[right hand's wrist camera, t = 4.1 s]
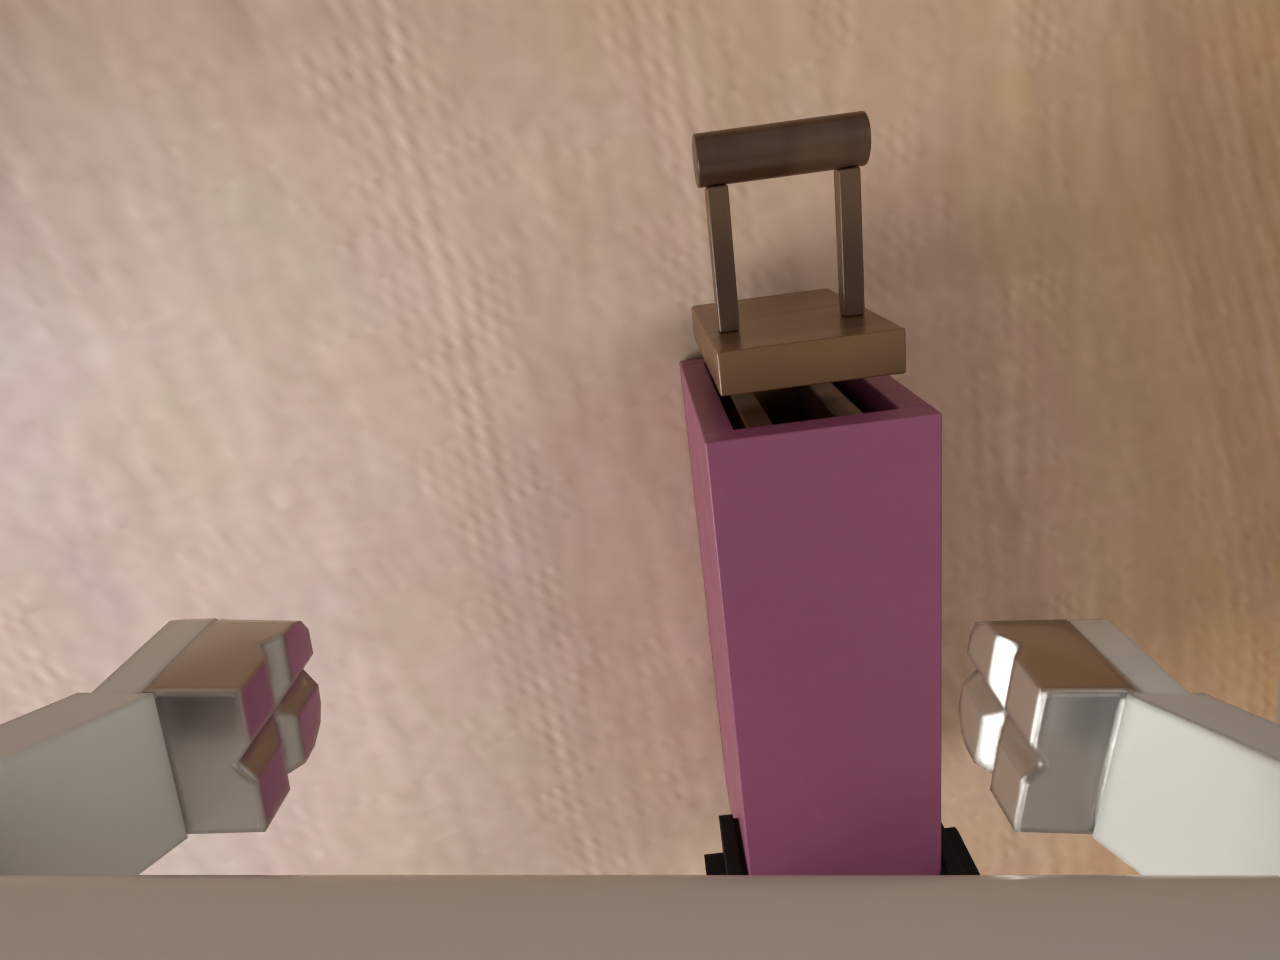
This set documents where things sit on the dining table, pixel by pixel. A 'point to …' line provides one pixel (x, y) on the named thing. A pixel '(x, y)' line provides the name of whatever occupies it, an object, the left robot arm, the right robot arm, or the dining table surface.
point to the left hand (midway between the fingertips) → (824, 837)
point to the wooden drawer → (796, 322)
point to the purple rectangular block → (825, 626)
